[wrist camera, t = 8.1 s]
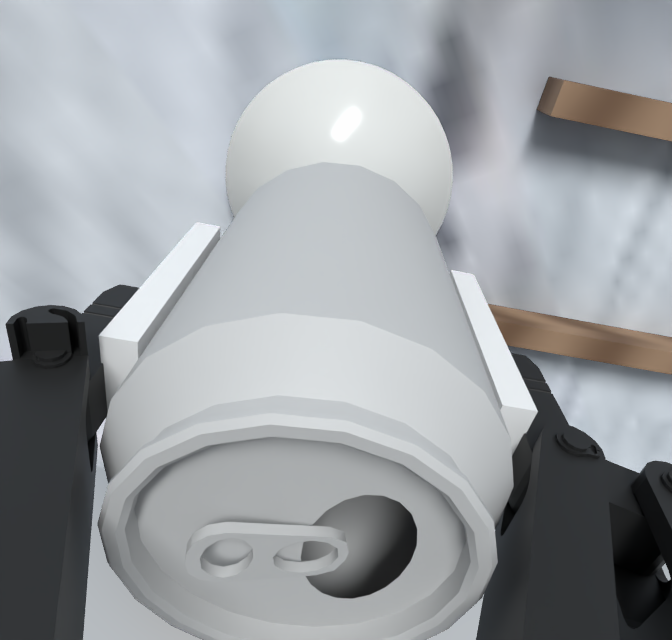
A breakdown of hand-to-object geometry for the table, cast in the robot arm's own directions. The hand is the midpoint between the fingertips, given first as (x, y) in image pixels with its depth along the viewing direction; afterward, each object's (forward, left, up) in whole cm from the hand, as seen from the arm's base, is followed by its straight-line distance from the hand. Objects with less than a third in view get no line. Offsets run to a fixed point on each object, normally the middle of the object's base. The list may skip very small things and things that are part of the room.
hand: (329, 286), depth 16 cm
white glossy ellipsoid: (0, 0, -12) cm, 12 cm away
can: (0, 0, -2) cm, 2 cm away
